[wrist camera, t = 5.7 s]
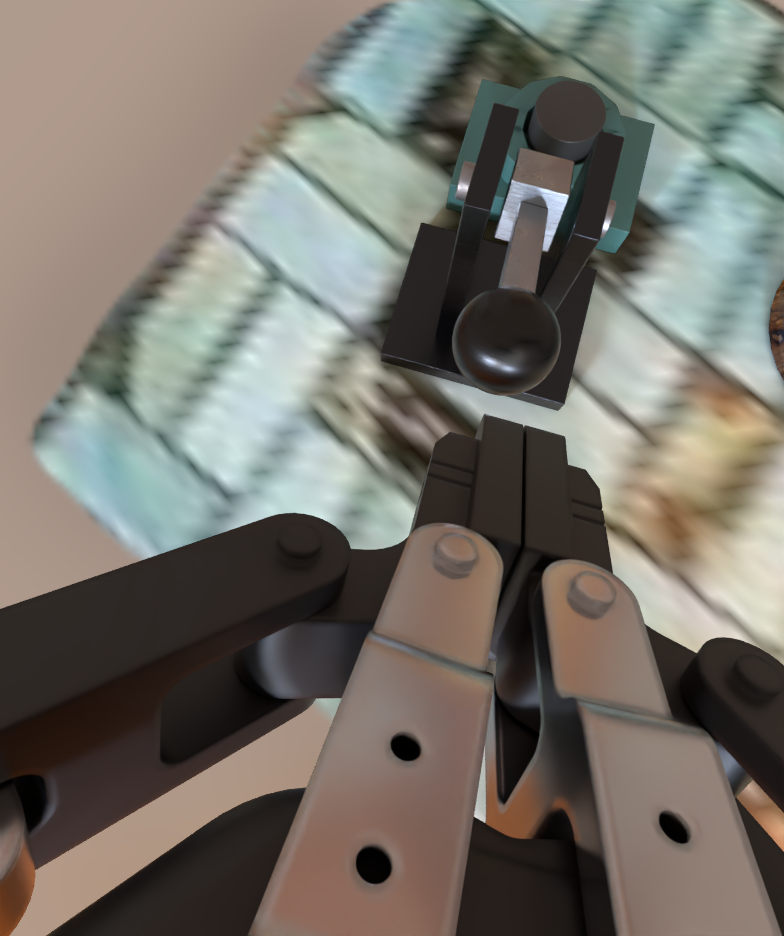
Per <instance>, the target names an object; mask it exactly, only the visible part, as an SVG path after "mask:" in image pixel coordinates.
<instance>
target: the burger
mask: <svg viewBox="0 0 784 936" xmlns="http://www.w3.org/2000/svg"><path fill="white" fill-rule="evenodd" d="M769 334H770V342H771V350H772V352H773V356H774V359H775V362H776V365H777V369H778V370H779V372H780V374H781V376H782V378H783V380H784V280H783V282H782V283H781V285H780V287H779V288H778V290H777V292H776V295H775V298H774V301H773V304H772V307H771V313H770V323H769Z"/></svg>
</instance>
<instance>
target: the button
mask: <svg viewBox="0 0 784 936" xmlns="http://www.w3.org/2000/svg"><path fill="white" fill-rule="evenodd" d="M605 120H606V109H605V105H604V102H603V100H602V99H601V97H600V96H599V94H598V93H597V92H596V91H595V90H593V89H592V88H591V87H589V86H587V85H585V84H583V83H580V82H575V81H561V82H557V83H554V84H552V85H550V86H548V87H547V88H546V89H545V90H544V91H543V92H542V93H541V94H540V95H539V97H538V99H537V101H536V104H535V107H534V110H533V114H532V117H531V120H530V123H529V126H528V139H529V142H530V145H531V147H532V148H533V150H534V151H536V152H540V153H544V154H547V155H551V156H555V157H559V158H562V159H566V160H570V161H573V162H574V163H576V162H579V161H581V160H582V159H584V158H585V157H587V155H588V153H589V151H590V149H591V147H592V145H593V143H594V141H595V138H596V136H597V134H598V133H599V132H600V131H601V130H602V128H603V126H604V123H605Z"/></svg>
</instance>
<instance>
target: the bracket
mask: <svg viewBox="0 0 784 936" xmlns="http://www.w3.org/2000/svg"><path fill="white" fill-rule="evenodd" d="M518 114H519V109H517V108H513V107H509V106H506V105H502V104H498V103H494V104H493V107H492V110H491V113H490V117H489V120H488V124H487V127H486V130H485V134H484V137H483V140H482V144H481V147H480V151H479V154H478V157H477V161H476V163H472V162H468V161H465V162H464V164H463V166H462V170H461V173H460V177H459V181H458V184H457V189H456V193H455V199H457V200H461V201H464V205H463V210H462V214H461V219H460V223H459V228H458V232H454V231H451V230H447V229H443V228H440V227H436V226H432V225H429V224H425V223H421V225H420V228H419V231H418V235H417V238H416V241H415V244H414V248H413V251H412V254H411V257H410V260H409V264H408V267H407V270H406V273H405V277H404V280H403V283H402V286H401V290H400V293H399V296H398V299H397V302H396V306H395V309H394V312H393V315H392V319H391V322H390V325H389V328H388V332H387V335H386V338H385V341H384V344H383V348H382V351H381V361H383V362H386V363H390V364H393V365H397V366H400V367H404V368H408V369H411V370H415V371H418V372H422V373H425V374H429V375H432V376H436V377H440V378H443V379H447V380H450V381H454V382H457V383H461V384H465V385H468V386H472V387H475V386H474V385H472V384H471V383H470V382H469V381H468V380H467V379H466V378H465V377H464V376H463V374H462V373H461V371H460V370H459V368H458V366H457V364H456V362H455V359H454V355H453V349H452V336H453V331H454V327H455V324H456V321H457V319H458V317H459V315H460V313H461V312H462V310H463V309H464V308H465V307H466V305H467V304H468V303H469V302H470V301H472V300H473V299H474V298H475V297H477V296H478V295H480V294H481V293H483V292H485V291H488V290H490V289H493V288H498V286H499V282H500V278H501V274H502V269H503V265H504V261H505V256H506V252H507V248H508V246H506V245H502V244H499V243H495V242H491V241H488V240H484V239H483V236H484V233H485V229H486V226H487V222H488V219H489V216H490V212H491V209H492V205H493V202H494V198H495V195H496V191H497V188H498V184H499V181H500V177H501V174H502V170H503V167H504V163H505V160H506V156H507V153H508V149H509V146H510V142H511V139H512V135H513V132H514V128H515V125H516V121H517V118H518ZM623 144H624V137H622V136H618V135H614V134H611V133H607V132H603V131H600V132H599V133H598V134H597V136H596V138H595V141H594V143H593V145H592V147H591V149H590V151H589V153H588V155H587V158H586V160H585V162H584V164H583V166H582V168H581V170H580V172H579V175H578V177H577V179H576V181H575V183H574V185H573V187H572V189H571V193H570V198H569V200H568V203H567V205H566V208H565V211H564V213H563V216H562V218H561V221H560V224H559V226H558V229H557V231H556V234H555V237H554V239H553V242H552V245H551V247H550V250H549V252H544V251H542V254H541V260H540V266H539V272H538V278H537V284H536V290H535V294H536V295H538V296H539V297H541V298H542V299H543V300H544V301H545V302H546V303H547V304H548V305H549V306H550V307H551V309H552V310H553V312H554V314H555V316H556V318H557V321H558V324H559V327H560V333H561V346H560V351H559V355H558V358H557V361H556V363H555V365H554V367H553V368H552V370H551V371H550V373H549V374H548V375H547V376H546V378H545V379H544V380H542V381H541V382H540V383H539V384H538V385H536V386H535V387H533V388H531V389H530V390H528V391H525V392H523V393H519V394H515V395H506V396H507V397H511V398H515V399H518V400H522V401H525V402H529V403H532V404H536V405H539V406H543V407H547V408H550V409H554V410H557V411H558V410H559V409H560V408H561V407H562V406H563V405H564V404H565V400H566V396H567V392H568V388H569V383H570V379H571V375H572V371H573V367H574V363H575V359H576V355H577V351H578V346H579V342H580V338H581V334H582V330H583V326H584V322H585V318H586V313H587V309H588V305H589V301H590V297H591V293H592V289H593V285H594V281H595V276H596V272H597V270H594V269H591V268H587V267H584V265H585V264H586V262H587V260H588V259H589V257H590V255H591V254H592V252H593V251H594V249H595V247H596V246H597V244H598V242H599V241H600V238H603V237H604V236H605V235H606V233H607V231H608V229H609V227H610V225H611V222H612V219H613V216H614V213H615V209H616V201H614V200H610V197H611V193H612V189H613V185H614V181H615V177H616V173H617V168H618V164H619V160H620V156H621V152H622V148H623ZM475 388H477V387H475Z"/></svg>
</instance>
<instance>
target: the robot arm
mask: <svg viewBox="0 0 784 936" xmlns="http://www.w3.org/2000/svg"><path fill="white" fill-rule="evenodd" d="M601 510H602V502H601V495H600V489H599V488H598V486H597V485H596V483H595V482H594V481H593V479H592V478H591V477H590V475H589V474H588V472H587V471H586V470H585V469H581V468H578V467H574V466H570V465H568V462H567V451H566V440H565V437H564V436H562V435H558V434H555V433H551V432H547V431H544V430H540V429H537V428H533V427H529V426H524V428H523V425H522V424H518V423H515V422H511V421H507V420H504V419H500V418H497V417H493V416H489V415H486V414H484V416H483V418H482V420H481V423H480V426H479V428H478V431H477V434H476V437H475V439H474V438H470V437H467V436H463V435H459V434H456V433H452V432H449V433H448V434H447V435H445V436H444V437H443V438H441V439H440V440H439V441H437V442H436V443H435V446H434V449H433V453H432V456H431V460H430V463H429V466H428V470H427V473H426V476H425V480H424V483H423V487H422V490H421V493H420V497H419V500H418V503H417V507H416V511H415V514H414V518H413V522H412V526H411V530H410V534H409V537H407V538H406V539H405V540H404V541H402V542H401V543H399V544H397V545H395V546H392V547H388V548H384V549H377V550H361V549H351V548H350V545H349V542H348V541H347V539H346V537H345V536H344V535H343V533H342V532H341V531H340V530H339V529H337V528H336V527H335V526H334V525H332V524H330V523H329V522H327V521H325V520H323V519H320V518H317V517H314V516H311V515H306V514H298V513H285V514H278V515H274V516H270V517H267V518H264V519H262V520H259V521H256V522H253V523H250V524H247V525H244V526H241V527H238V528H235V529H232V530H229V531H227V532H224V533H221V534H218V535H215V536H212V537H209V538H206V539H203V540H200V541H197V542H194V543H192V544H189V545H186V546H183V547H180V548H177V549H174V550H171V551H168V552H165V553H162V554H159V555H157V556H154V557H151V558H148V559H145V560H142V561H139V562H136V563H133V564H130V565H128V566H124V567H122V568H119V569H116V570H113V571H110V572H107V573H104V574H101V575H98V576H95V577H92V578H90V579H87V580H84V581H81V582H78V583H75V584H72V585H69V586H66V587H63V588H61V589H57V590H55V591H52V592H49V593H46V594H43V595H40V596H37V597H34V598H32V599H28V600H25V601H22V602H19V603H17V604H14V605H11V606H8V607H5V608H2V609H0V936H9V935H10V934H11V933H12V931H13V930H14V929H15V928H16V926H17V925H18V923H19V921H20V920H21V918H22V916H23V915H24V913H25V911H26V909H27V906H28V904H29V902H30V899H31V896H32V892H33V888H34V882H35V870H36V869H38V868H40V867H41V866H43V865H45V864H47V863H48V862H50V861H52V860H53V859H55V858H57V857H59V856H60V855H62V854H64V853H65V852H67V851H69V850H70V849H72V848H74V847H75V846H77V845H79V844H81V843H82V842H84V841H86V840H87V839H89V838H91V837H92V836H94V835H96V834H97V833H99V832H101V831H103V830H104V829H106V828H108V827H109V826H111V825H113V824H114V823H116V822H117V821H119V820H121V819H123V818H125V817H126V816H128V815H130V814H131V813H133V812H135V811H136V810H138V809H139V808H141V807H143V806H145V805H146V804H148V803H150V802H152V801H153V800H155V799H157V798H158V797H160V796H162V795H164V794H165V793H167V792H168V791H170V790H172V789H174V788H175V787H177V786H179V785H180V784H182V783H184V782H186V781H187V780H189V779H191V778H192V777H194V776H196V775H197V774H199V773H201V772H203V771H204V770H206V769H208V768H209V767H211V766H212V765H214V764H216V763H218V762H219V761H221V760H223V759H224V758H226V757H228V756H229V755H231V754H233V753H235V752H236V751H238V750H240V749H241V748H243V747H245V746H246V745H248V744H250V743H252V742H253V741H255V740H257V739H258V738H260V737H262V736H263V735H265V734H267V733H268V732H270V731H272V730H273V729H275V728H277V727H279V726H280V725H282V724H284V723H285V722H287V721H289V720H290V719H292V718H294V717H296V716H297V715H299V714H300V713H302V712H303V711H305V710H306V709H308V708H309V707H310V706H311V705H312V704H313V702H314V701H315V699H316V698H342V699H341V702H340V704H339V707H338V709H337V712H336V714H335V717H334V719H333V722H332V724H331V727H330V729H329V732H328V735H327V737H326V740H325V742H324V745H323V748H322V750H321V752H320V755H319V757H318V760H317V762H316V765H315V767H314V770H313V772H312V775H311V777H310V780H309V783H308V785H307V787H306V788H297V789H288V790H283V791H279V792H275V793H270V794H266V795H263V796H260V797H258V798H255V799H252V800H250V801H247V802H245V803H242V804H240V805H238V806H236V807H234V808H232V809H231V810H229V811H227V812H225V813H223V814H221V815H220V816H218V817H217V818H215V819H214V820H212V821H210V822H209V823H207V824H206V825H204V826H203V827H202V828H200V829H199V830H197V831H196V832H194V833H193V834H192V835H190V836H189V837H187V838H186V839H184V840H183V841H181V842H180V843H179V844H177V845H176V846H174V847H173V848H172V849H170V850H169V851H167V852H166V853H164V854H163V855H161V856H160V857H159V858H157V859H156V860H154V861H153V862H151V863H150V864H149V865H148V866H146V867H144V868H143V869H141V870H140V871H138V872H137V873H136V874H134V875H133V876H131V877H130V878H128V879H127V880H125V881H124V882H123V883H121V884H120V885H118V886H117V887H115V888H114V889H113V890H111V891H110V892H109V893H107V894H106V895H104V896H103V897H101V898H100V899H98V900H97V901H96V902H94V903H93V904H91V905H90V906H88V907H87V908H85V909H84V910H82V911H81V912H80V913H78V914H77V915H75V916H74V917H73V918H71V919H70V920H68V921H67V922H65V923H64V924H62V925H61V926H60V927H58V928H57V929H55V930H54V931H52V932H51V933H49V934H48V935H47V936H784V852H783V851H782V849H781V848H780V847H779V846H778V845H777V844H776V843H775V841H774V840H773V839H772V838H771V837H770V836H769V835H768V833H767V832H766V831H765V830H764V829H763V828H762V827H761V825H760V824H759V823H758V822H757V821H756V820H755V819H754V818H753V816H752V815H751V814H750V813H749V812H748V811H747V810H746V808H745V807H744V806H743V805H742V804H741V803H740V802H739V800H738V799H737V798H736V797H737V796H738V795H739V794H740V793H741V792H742V791H743V790H744V789H745V787H746V786H747V785H748V784H749V783H750V782H751V781H752V780H754V781H755V782H756V783H757V784H758V785H759V786H760V787H761V788H762V790H763V791H764V792H765V793H766V794H767V795H768V796H769V797H770V798H771V799H772V800H773V802H774V803H775V804H776V805H777V806H778V807H779V808H780V809H781V810H782V811H783V812H784V665H783V664H781V663H780V662H779V661H778V660H777V659H775V658H774V657H772V656H771V655H770V654H768V653H766V652H765V651H763V650H761V649H760V648H758V647H756V646H753V645H751V644H749V643H746V642H744V641H741V640H737V639H733V638H725V637H723V638H714V639H711V640H709V641H707V642H706V643H705V644H704V645H703V646H702V647H701V648H700V650H699V651H698V653H695V652H693V651H691V650H689V649H688V648H686V647H684V646H682V645H680V644H678V643H676V642H674V641H672V640H671V639H669V638H667V637H665V636H663V635H661V634H660V633H658V632H656V631H654V630H653V629H651V628H650V627H648V626H647V625H646V624H645V623H644V620H643V616H642V613H641V609H640V606H639V603H638V601H637V599H636V597H635V596H634V594H633V592H632V591H631V590H630V589H629V587H628V586H627V585H626V584H625V583H624V582H623V581H621V580H620V579H619V578H618V577H616V576H615V575H614V574H613V570H612V564H611V558H610V552H609V545H608V539H607V533H606V527H605V526H604V523H605V520H604V514H603V511H601ZM488 659H491V660H495V661H496V675H495V677H494V676H493V674H492V673H489V672H486V669H487V663H488ZM484 746H485V762H486V823H484V822H482V821H480V820H479V819H477V818H475V817H474V811H475V805H476V798H477V792H478V785H479V779H480V772H481V766H482V759H483V753H484Z"/></svg>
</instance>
